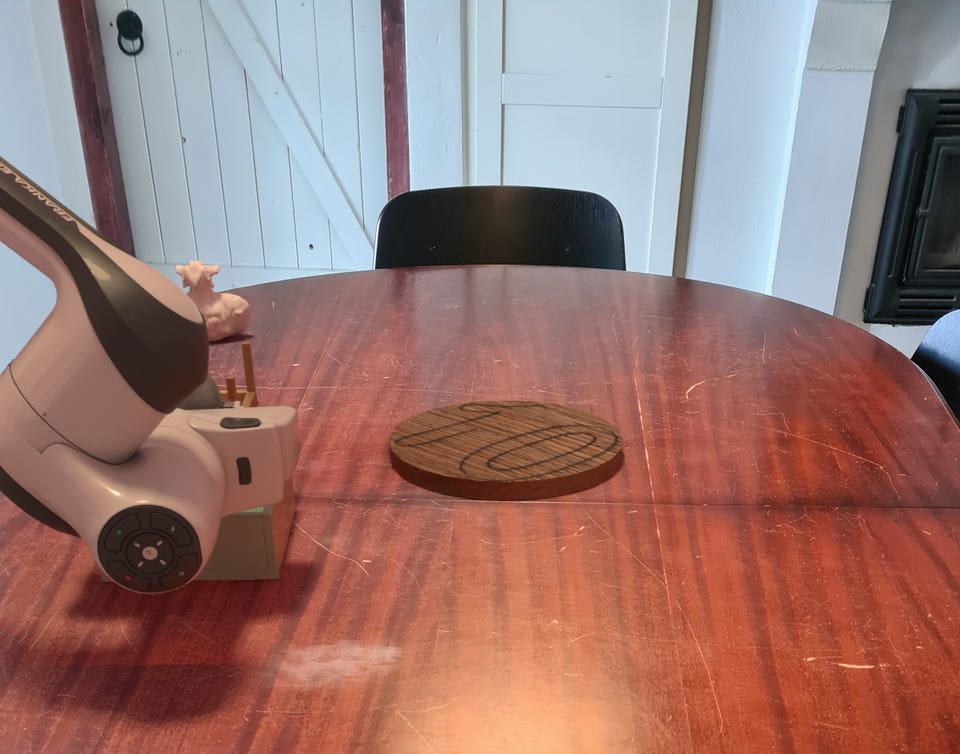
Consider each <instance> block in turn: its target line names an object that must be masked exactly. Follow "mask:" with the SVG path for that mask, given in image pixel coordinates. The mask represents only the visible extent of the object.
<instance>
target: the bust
mask: <svg viewBox="0 0 960 754" xmlns="http://www.w3.org/2000/svg"><path fill="white" fill-rule="evenodd" d="M174 269H175V273H176V274H177V275H179V276H180V277H181V279H182V288H183V289H185V288H188V287H189V289H188V292H185V293H186V294H187V295H188V297H189V298H190V299H191V300H192V301H193V303H194V304H195V306H196V307H197V308H198V309H199V310H200V312H201V313H202V314H203V316H204V318H205V320H206V325H207V331H208V341H209V343H210V342H217V341H220V340H222V339H225V338H228V337H231V336H235V335H240V334H243V333H245V332H246V331H247V329H248V326H249V323H250V316H251V310H250V304H249V303H248V301H247V300H246V299H244V298H243V297H242V296H240V295H237V294H233V293H227V292H223V293H222V292H221V293H218V292H216V291H214V290H213V289H214V288H215V284H214V282H213V278H212V277H213V276H216V275H218V274H219V271H220V270H221V267H220V265H219V264H214V265H209V264H207V265H205V264H204V261H203V259H199V260H193V259H190V260H189V262H188V264H187V265H181V264H177V265H176V266H175V267H174Z"/></svg>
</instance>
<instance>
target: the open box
mask: <svg viewBox="0 0 960 754" xmlns="http://www.w3.org/2000/svg"><path fill="white" fill-rule="evenodd" d="M294 489H295V488H294V480H293V476H292V477H291V478H290V479H289V480H288V481H286V482H284V495H283V499H282V501H280V502H279V503H276V504H272V505H267V506H262V507H258V508H253V509H249V510H244V511H240V512H237V513H234V514H231V515H228V516H226V517H223V518H221V523H220V528H219V533H218V537H217V540H216V543H215V546H214V549H213V551H212V554H211V556H210V558H209V560H208V562H207V564H206V565H205V567H204V568H203V570H202V571H201V572H200V574H199V575H198V576H196V577H195V578H194V579H193V580H192V581H191V582H196V581H197V582H199V581H200V582H203V581H207V582H208V581H254V580H255V581H261V580H262V581H267V580H270V581H271V580H273V581H274V580H279V578H280V574H281V570H282V566H283V563H284V559H285V554H286V551H287V547H288V542H289V539H290V535H291V530H292V526H293V523H294V520H295V519H294V518H295V514H296V512H297V511H296V510H297V509H296V502H295V501H296V498H295V490H294ZM98 571H99V575H100V581H101V583H115V582H114V581H113V580H111V579H110V578H109V577H108V576H107V575H106V574H105V573H104V572H103V571H102V570H101V569H100V568H99V567H98Z"/></svg>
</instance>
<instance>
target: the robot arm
mask: <svg viewBox="0 0 960 754" xmlns="http://www.w3.org/2000/svg"><path fill="white" fill-rule="evenodd" d="M0 242H1V244H3V245H5V246H6V247H7V248H8V249H10V250H11V251H12V252H13V253H15V254H16V255H18V256H19V257H20V258H21V259H23V260H25V261H26V262H27V263H29V265H31V266H32V267H33V268H35V269H36V270H38V271H39V272H40V273H41V274H43V275H44V276H45V277H47V278H48V279H49V280H50V281H51V282H52V283H53V286H54V288H55V292H56V299H55V304H54V307H53V308H52V310H51V311H50V312H49V314H48V315H47V316H46V318H44V320H43V322H42V323H41V324H40V325H39V327H38V328H37V329H36V331H35V332H34V333H33V335H31V337H30V338H29V339H28V341H27V342H26V344H25V345H24V346H23V347H22V349H21V350H20V351H19V352H18V354H17V355H16V356H15V358H13V359H12V360H10V362H9V363H8V364H7V365H6V368H4V369H3V371H2V372H1V373H0V492H1V493H2V494H3V495H4V496H5V497H6V498H7V499H8V500H10V502H11V503H13V504H14V505H15V506H16V507H17V508H19V509H20V510H21V511H22V512H24V513H25V514H27V515H28V516H30V517H32V518H33V519H34V520H36V521H38V522H39V523H41V524H42V525H44V526H46V527H48V528H50V529H53V530H55V531H56V532H60V533H62V534H65V535H69V536H72V537H75V538H80V539H82V540H83V542H84V543H85V545H86V547H87V548H88V551H89V552H90V554H91V556H92V558H93V560H94V562H95V564H96V565H97V566H98V569H99V568H100V569H101V570H102V571H103V572H104V573H105V574H106V575H107V576H108V577H109V578H110V579H111V580H113V581H114V582H113V583H115V584H117V585H118V586H119V587H121V588H123V589H126V590H128V591H131V592H135V593H139V594H147V595H148V594H150V595H153V594H154V595H156V594H157V595H158V594H163V593H164V594H165V593H168V592H173V591H176V590H178V589H181V588H183V587H184V586H186V585H188V584H189V583H190V582H193V581H192V580H193V579H194V578H195V577H196V576H198V575H199V574H200V572H201V571H202V570H203V568H204V567H205V565H206V564H207V562H208V560H209V558H210V556H211V554H212V551H213V549H214V546H215V543H216V540H217V537H218V533H219V528H220V523H221V518H223V517H226V516H228V515H231V514H234V513H237V512H240V511H244V510H249V509H253V508H258V507H262V506H267V505H272V504H276V503H279V502H280V501H282V499H283V495H284V482H286V481H288V480H289V479H290V478H291V477H292V478H293V475H294V474H295V473H296V470H297V467H298V464H299V461H300V457H301V434H300V432H301V431H300V423H299V415H298V411H297V409H296V408H294V407H291V406H288V405H276V406H256V407H249V408H245V407H242V405H241V402H240V401H225V402H224V404H223V409H201V410H183V409H179V408H178V407H179V406H180V405H181V404H182V403H183V402H184V401H185V400H186V399H187V398H188V397H189V396H190V395H191V394H193V393H194V392H195V391H196V390H197V389H198V388H199V387H200V386H201V385H202V384H203V383H204V382H205V381H206V379H207V374H208V373H209V363H210V342H209V341H208V331H207V325H206V320H205V318H204V316H203V314H202V313H201V312H200V310H199V309H198V308H197V307H196V306H195V304H194V303H193V301H192V300H191V299H190V298H189V297H188V295H187V294H186V293H187V292H185V291H184V289H182V288H181V287H180V286H179V285H177V284H176V283H175V282H174V281H173V280H172V279H170V278H169V277H167V276H166V275H164V274H163V273H162V272H160V271H158V270H157V269H155V268H154V267H153V266H150V265H149V264H147V263H145V262H143V261H141V260H140V259H139V258H137V257H135V256H134V255H133V254H131V253H130V252H129V251H126V250H125V249H124V248H123V247H121V246H119V245H118V244H117V243H115V242H114V241H112V240H111V239H109V237H106V236H105V235H104V234H102V233H101V232H100V231H98V230H97V229H96V228H94V227H93V226H92V225H91V224H89V223H88V222H87V221H85V220H84V219H83V218H81V217H80V216H79V215H77V214H76V213H75V212H74V211H72V210H71V209H70V208H68V207H67V206H66V205H65V204H63V203H62V202H60V200H58V199H57V198H55V196H53V195H51V194H50V193H49V192H48V191H46V190H45V189H44V188H42V186H40V185H39V184H37V183H36V182H35V181H34V180H33V179H31V178H29V177H28V176H27V175H26V174H25V173H23V172H22V171H21V170H19V169H18V168H16V167H15V166H14V165H13V164H12V163H10V162H9V161H7V159H5V158H3V156H1V155H0Z"/></svg>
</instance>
